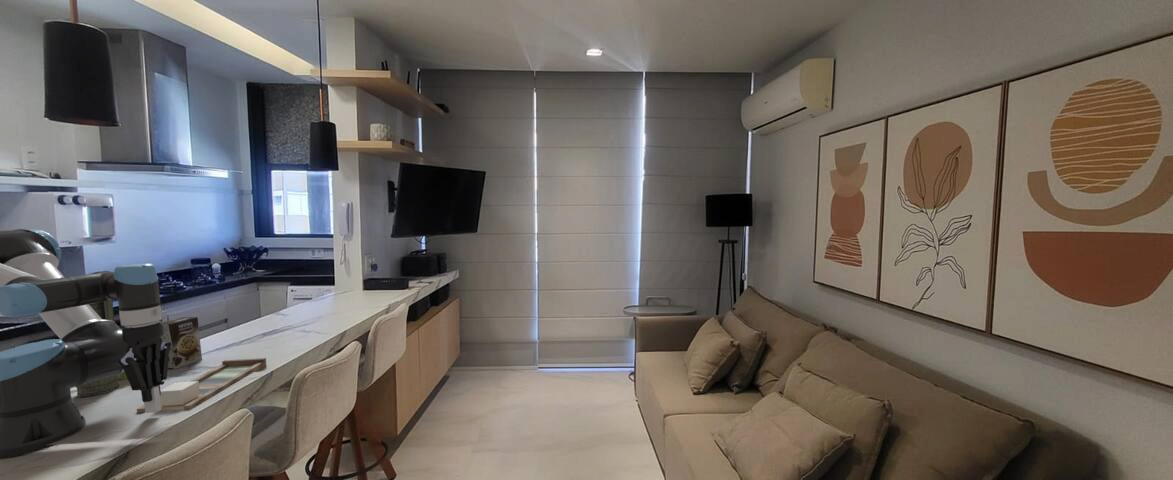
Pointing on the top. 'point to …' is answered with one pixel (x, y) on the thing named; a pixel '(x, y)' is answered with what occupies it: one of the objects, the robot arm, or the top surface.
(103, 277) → the robot arm
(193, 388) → the cream block
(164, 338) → the coffee box
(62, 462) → the top surface
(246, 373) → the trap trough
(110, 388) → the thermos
